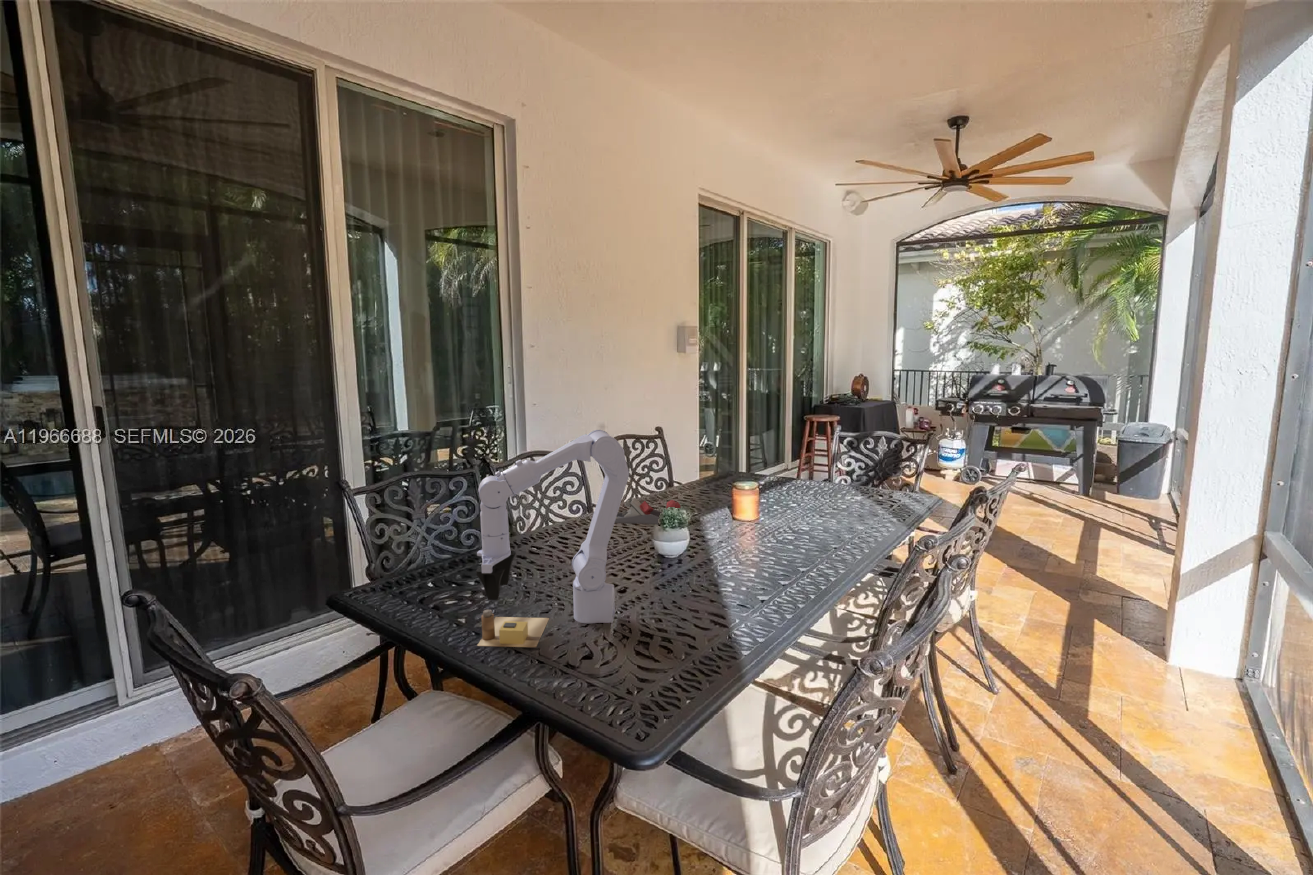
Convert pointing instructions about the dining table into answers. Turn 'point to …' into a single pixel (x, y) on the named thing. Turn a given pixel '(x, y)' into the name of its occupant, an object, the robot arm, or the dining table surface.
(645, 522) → the hand plane
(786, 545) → the dining table surface
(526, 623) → the stud finder
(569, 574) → the dining table surface
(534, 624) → the plywood panel
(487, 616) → the brown gray-topped cylinder
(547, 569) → the dining table surface
